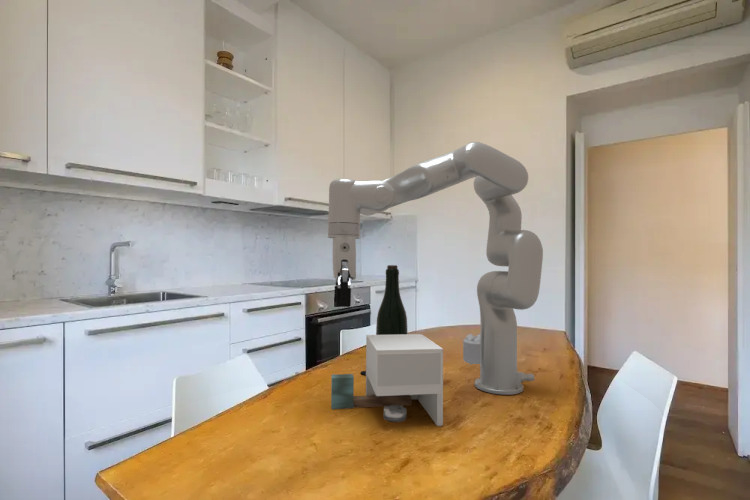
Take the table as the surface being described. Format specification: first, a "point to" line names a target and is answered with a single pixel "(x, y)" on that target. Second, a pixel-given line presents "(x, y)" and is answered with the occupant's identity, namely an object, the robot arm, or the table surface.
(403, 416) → the silver metal dome
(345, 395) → the mallet
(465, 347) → the lumpy-topped squat cylinder
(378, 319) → the dark green wine bottle
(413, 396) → the cabinet
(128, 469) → the table surface
